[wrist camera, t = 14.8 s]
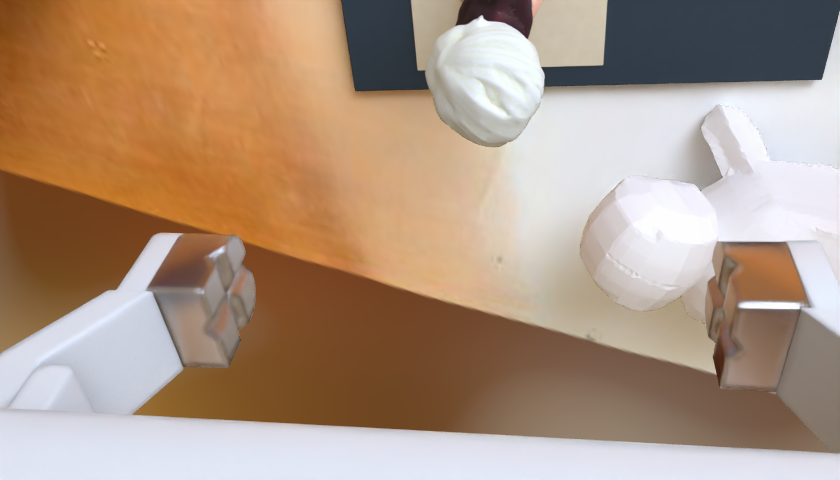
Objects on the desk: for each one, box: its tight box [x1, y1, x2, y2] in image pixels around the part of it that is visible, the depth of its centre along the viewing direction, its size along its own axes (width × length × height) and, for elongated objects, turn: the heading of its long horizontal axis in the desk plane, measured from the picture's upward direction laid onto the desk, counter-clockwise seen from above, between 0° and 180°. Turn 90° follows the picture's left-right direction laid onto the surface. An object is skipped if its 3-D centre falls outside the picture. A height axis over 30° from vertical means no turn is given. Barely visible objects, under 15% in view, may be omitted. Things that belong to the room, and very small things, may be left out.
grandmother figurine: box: [425, 0, 545, 147], centre depth 25 cm, size 8×4×13 cm, turn 175°
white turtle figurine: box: [580, 104, 840, 324], centre depth 33 cm, size 9×8×15 cm
